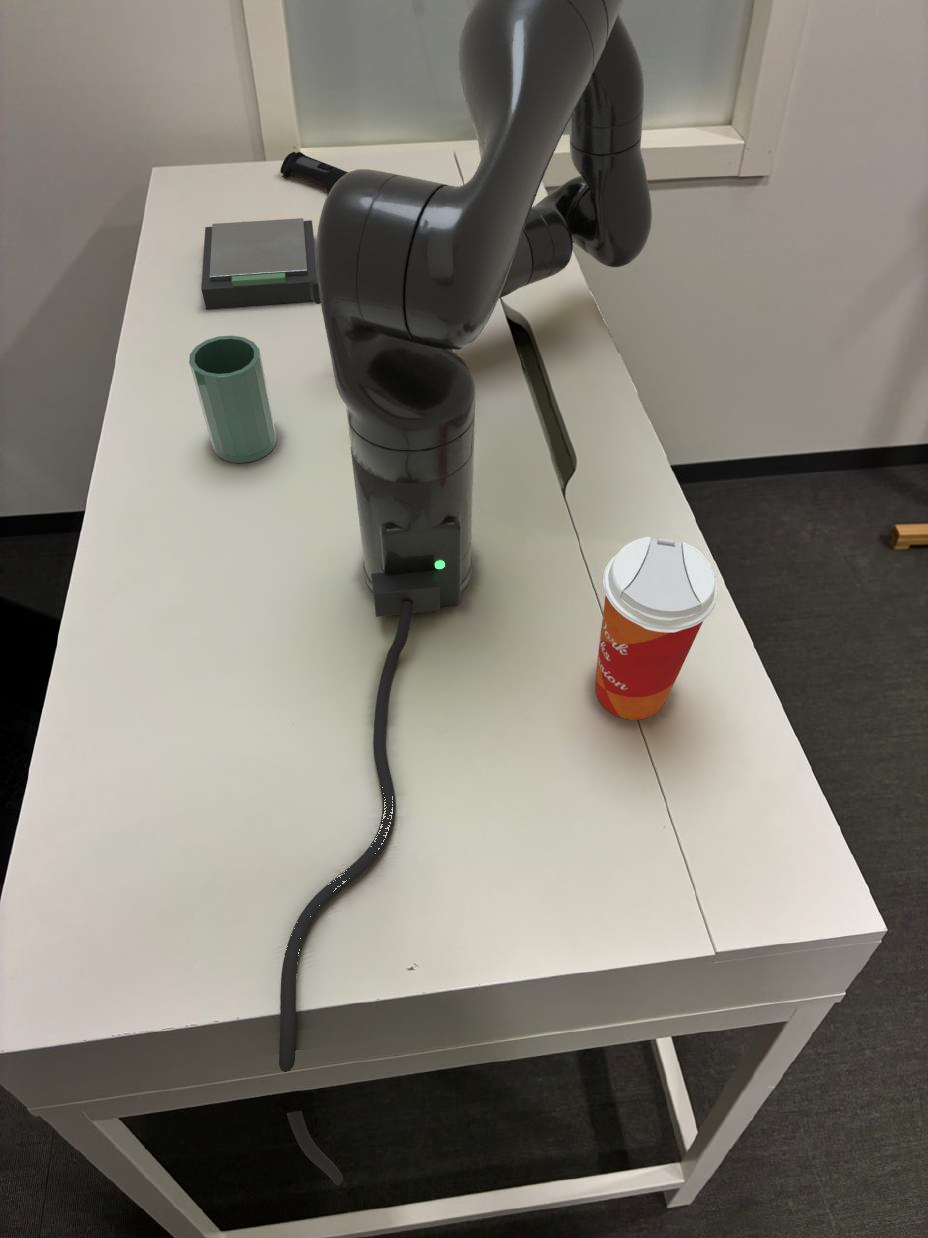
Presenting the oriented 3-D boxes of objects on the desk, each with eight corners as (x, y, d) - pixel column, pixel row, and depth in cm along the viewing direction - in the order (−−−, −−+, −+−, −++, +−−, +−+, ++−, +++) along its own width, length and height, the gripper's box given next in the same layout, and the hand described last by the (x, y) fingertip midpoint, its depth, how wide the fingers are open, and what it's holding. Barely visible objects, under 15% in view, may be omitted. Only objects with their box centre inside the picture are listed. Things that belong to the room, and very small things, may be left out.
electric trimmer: (365, 211, 116) (364, 187, 113) (278, 176, 121) (275, 152, 119) (383, 200, 118) (382, 176, 115) (297, 166, 123) (294, 143, 121)
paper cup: (587, 643, 72) (611, 522, 61) (682, 659, 71) (724, 540, 60) (575, 723, 67) (599, 608, 56) (676, 742, 66) (721, 629, 55)
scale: (319, 300, 102) (316, 275, 100) (206, 309, 101) (199, 283, 99) (314, 239, 111) (311, 214, 108) (209, 246, 110) (203, 221, 107)
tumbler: (277, 460, 85) (259, 373, 77) (212, 465, 85) (187, 379, 77) (276, 419, 89) (259, 332, 81) (213, 424, 88) (190, 338, 81)
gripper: (437, 198, 89) (292, 243, 83) (519, 262, 82) (367, 316, 76) (437, 267, 95) (303, 313, 89) (514, 332, 88) (373, 387, 82)
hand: (332, 314), depth 83 cm, fingers open, 8 cm apart
